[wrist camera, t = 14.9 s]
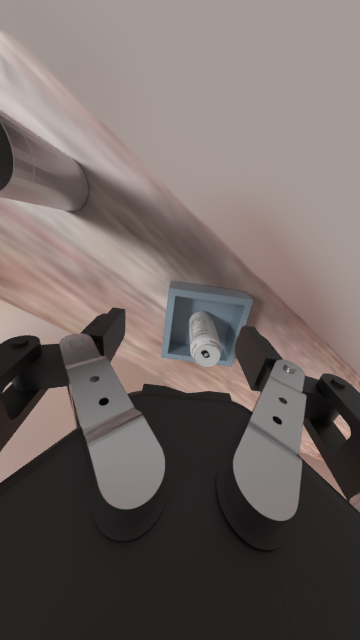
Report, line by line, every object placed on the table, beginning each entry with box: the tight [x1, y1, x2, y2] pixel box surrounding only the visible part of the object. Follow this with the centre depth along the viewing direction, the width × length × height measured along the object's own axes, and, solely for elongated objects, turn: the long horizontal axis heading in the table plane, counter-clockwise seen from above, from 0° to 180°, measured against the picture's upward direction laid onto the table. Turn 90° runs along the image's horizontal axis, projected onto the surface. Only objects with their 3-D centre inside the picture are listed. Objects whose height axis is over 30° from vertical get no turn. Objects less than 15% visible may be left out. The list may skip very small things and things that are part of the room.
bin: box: [161, 281, 254, 367], centre depth 44 cm, size 18×18×6 cm
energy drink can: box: [189, 311, 222, 367], centre depth 39 cm, size 6×6×15 cm
